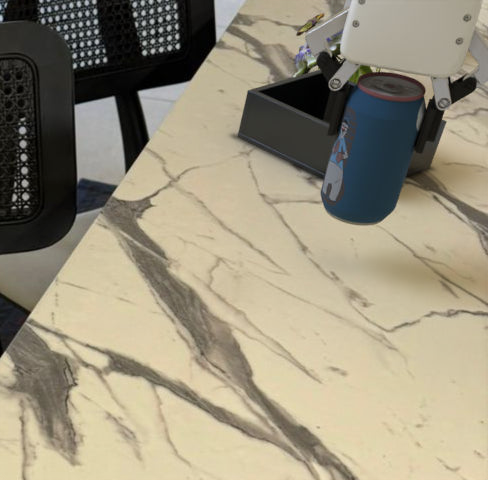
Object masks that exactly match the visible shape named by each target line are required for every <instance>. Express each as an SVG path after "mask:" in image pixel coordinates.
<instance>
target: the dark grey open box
mask: <svg viewBox="0 0 488 480" xmlns="http://www.w3.org/2000/svg"><path fill="white" fill-rule="evenodd" d="M348 84H350V86H349V90H348V94H349V92H350V91H351V90H352V89H353V88H354V86H355V85H356V83H354V82H351V81H349V80H348ZM330 91H331V89H330V88H329V83H328V81H327V80H326V78H325V76H324V75H323V73H322V72H321V70H318V69H317V70H313V71H309V72H308V73H307V74H303V75H300V76H296V77H293V76H292V77H289V78H286V79H283V80H278V81H277V82H276V81H275V82H271V83H269V84H265V85H262V86H258V87H255V88H252V89H251V88H250V89H247V93H246V97H245V100H244V101H245V102H244V106H243V110H242V114H241V119H240V123H239V128H238V133H237V138H238V139H240V140H242V141H244V142H246V143H248V144H250V145H252V146H254V147H256V148H258V149H260V150H263V151H264V152H267V153H269V154H271V155H273V156H274V157H277V158H279V159H281V160H283V161H285V162H287V163H289V164H291V165H292V166H295V167H297V168H299V169H301V170H303V171H305V172H307V173H309V174H311V175H313V176H316V177H317V178H319V179H321V180H323V181H324V177H325V173H326V170H327V166H328V162H329V159H330V155H331V151H332V147H333V144H334V140H335V136H336V135H333V137H332V136H327V133H328V129H329V126H330V123H328V122H323V118H324V114H325V111H326V107H327V103H328V99H329V95H330ZM348 94H347V95H348ZM446 125H447V121H446V120H444V119H442V121H441V124H440V127H439V130H438V133H437V136H436V138H435V141H434V142H429V141H426V144H425V147H424V150H423V153H422V154H420V153H416V151H414V152H413V155H412V158H411V161H410V164H409V168H408V171H407V174H406V177H405V179H407V178H409V177H412V176H415V175H417V174H419V173H422V172H425V171H427V170H429V169H430V168H431V166H432V164H433V161H434V157H435V155H436V152H437V150H438V147H439V144H440V142H441V138H442V135H443V132H444V130H445V127H446ZM336 133H337V132H336Z"/></svg>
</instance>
